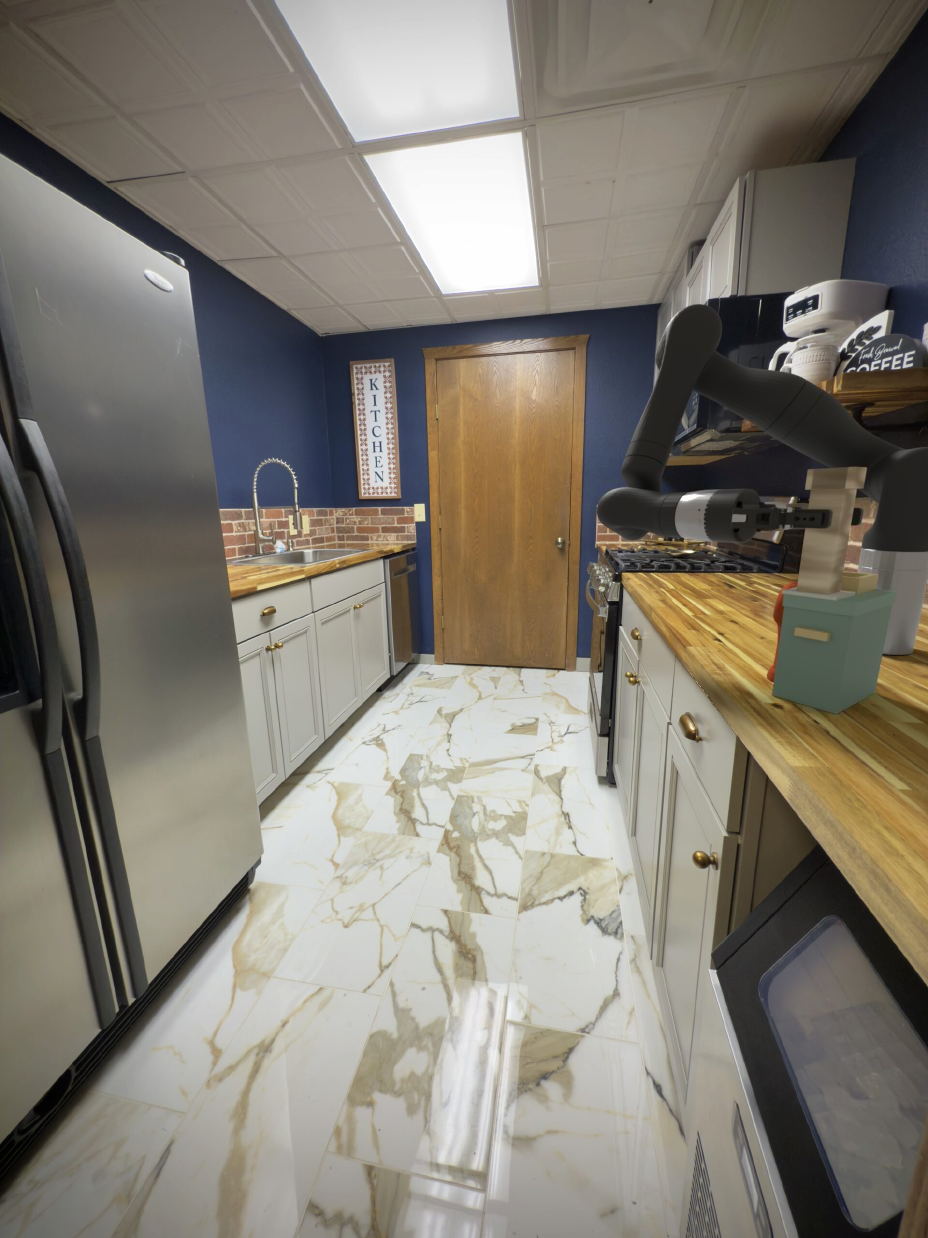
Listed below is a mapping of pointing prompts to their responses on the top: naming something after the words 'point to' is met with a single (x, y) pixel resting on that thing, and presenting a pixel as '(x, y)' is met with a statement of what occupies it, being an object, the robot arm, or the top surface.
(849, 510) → the wooden key
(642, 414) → the robot arm
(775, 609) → the toy drill
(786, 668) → the tool chest
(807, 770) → the top surface
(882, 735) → the top surface
